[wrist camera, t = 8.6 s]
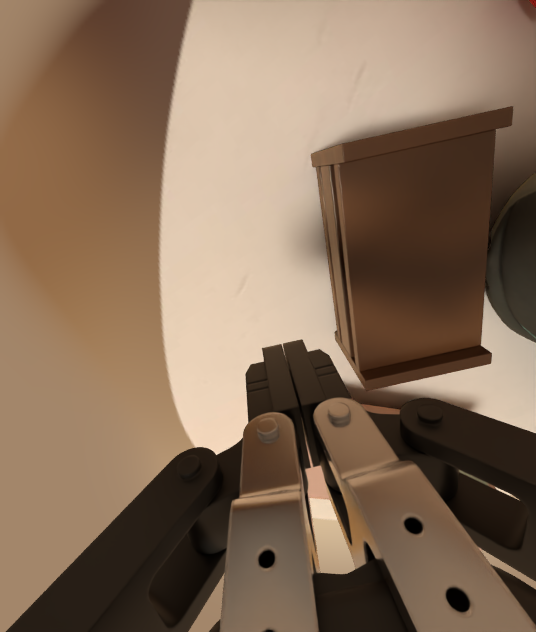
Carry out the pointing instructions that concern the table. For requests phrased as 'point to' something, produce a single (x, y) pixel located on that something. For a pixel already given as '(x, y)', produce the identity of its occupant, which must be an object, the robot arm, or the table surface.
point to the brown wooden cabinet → (410, 246)
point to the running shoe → (515, 262)
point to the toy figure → (533, 2)
